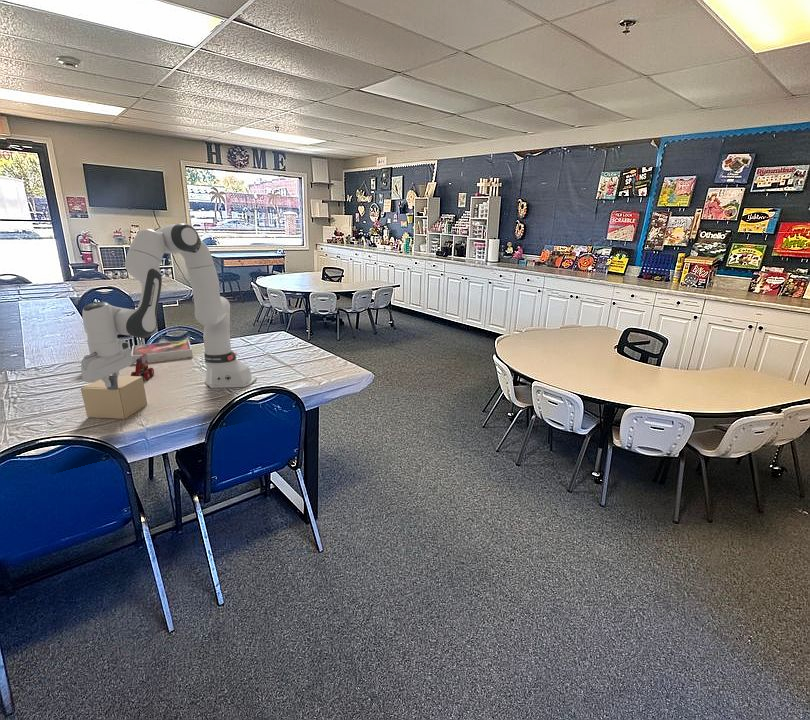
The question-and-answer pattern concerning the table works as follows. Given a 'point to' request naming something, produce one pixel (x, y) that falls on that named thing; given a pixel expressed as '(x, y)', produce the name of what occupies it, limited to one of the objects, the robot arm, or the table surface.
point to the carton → (127, 392)
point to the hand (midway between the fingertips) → (112, 385)
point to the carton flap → (103, 401)
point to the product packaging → (162, 351)
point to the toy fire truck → (143, 368)
